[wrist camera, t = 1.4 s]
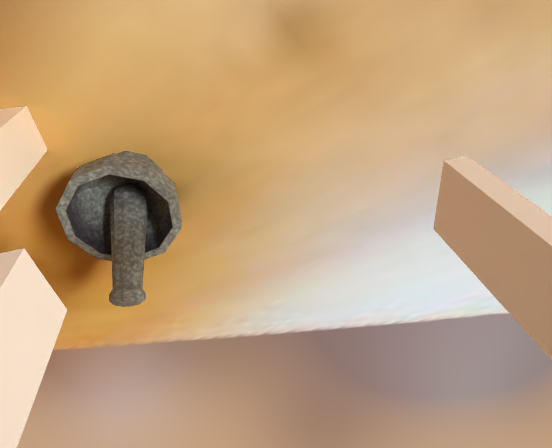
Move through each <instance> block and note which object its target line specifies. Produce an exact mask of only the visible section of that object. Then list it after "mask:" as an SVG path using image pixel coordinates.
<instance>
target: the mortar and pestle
mask: <svg viewBox="0 0 552 448" xmlns="http://www.w3.org/2000/svg"><path fill="white" fill-rule="evenodd" d="M56 211H57V214H58V216H59V219H60V221H61V224H62V226H63V229H64V231H65V234H66V236H67V239H68V240H69V241H71V242H73V243H74V244H76V245H77V246H79V247H80V248H82V249H83V250H85V251H86V252H88V253H89V254H91V255H92V256H94V257H95V258H97V259H100V260H109V261H112V278H113V290H112V291H111V293H110V294H109V301H110V302H111V303H112V304H113V305H116V306H123V307H125V306H134V305H138V304H140V303H141V302H143V301H145V299H146V293H145V292H144V290H143V288H142V286H143V271H144V260H145V259H148V258H150V257H153V256H156V255H159V254H161V253H164V252H165V251H166V250H167V248H168V247H169V245H170V244H171V243H172V241H173V240H174V238H175V237H176V235H177V234H178V232H179V231H180V229H181V222H182V220H181V214H180V208H179V202H178V196H177V190H176V186H175V183H174V182H173V181H172V180H171V179H169V178H168V177H167V176H166V175H165V174H164V173H163V172H162V169H161V168H160V167H159V166H158V165H157V164H156V163H154V162H153V161H152V160H151V159H150V158H149V157H148V156H147V155H143V154H138V153H133V152H128V151H124V152H121V153H118V154H115V153H113V154H111V155H108V156H105V157H103V158H100V159H98V160H95V161H92V162H90V163H87V164H84V165H82V166H81V167H79V168H78V169H77V170H76V171H75V172H74V173H73V175H72V177H71V179H70V180H69V183H68V185H67V187H66V189H65V191H64V193H63V195H62V197H61V199H60V201H59V203H58V205H57V207H56Z"/></svg>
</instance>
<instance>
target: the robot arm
mask: <svg viewBox="0 0 552 448" xmlns="http://www.w3.org/2000/svg"><path fill="white" fill-rule="evenodd" d="M434 230H435V231H436V232H437V233H438V234H439V235H440V237H441V238H442V239H443V240H444V241H445V242H446V243H447V244H448V245H449V247H450V248H451V249H452V250H453V251H454V252H455V253H456V254H457V255H458V257H459V258H460V259H461V260H462V261H463V262H464V263H465V264H466V265H467V267H468V268H469V269H470V270H471V271H472V272H473V273H474V274H475V275H476V277H477V278H478V279H479V280H480V281H481V282H482V283H483V284H484V285H485V287H486V288H487V289H488V290H489V291H490V292H491V293H492V294H493V295H494V297H495V298H496V299H497V300H498V301H499V302H500V303H501V304H502V305H503V307H504V308H505V309H506V310H507V311H508V312H509V313H510V314H511V315H512V317H513V318H514V319H515V320H516V321H517V322H518V323H519V324H520V325H521V326H522V328H523V329H524V330H525V331H526V332H527V333H528V334H529V335H530V337H531V338H533V340H534V341H535V342H536V343H537V344H538V345H539V347H540V348H541V349H542V350H543V351H544V352H545V353H546V354H547V355H548V356H549V357H550V359H551V360H552V216H551V215H549V214H548V213H546V212H545V211H544V210H542V209H541V208H539V207H538V206H536V205H535V204H534V203H532V202H531V201H529V200H528V199H527V198H525V197H524V196H522V195H521V194H520V193H518V192H517V191H515V190H514V189H512V188H511V187H510V186H508V185H507V184H505V183H504V182H503V181H501V180H500V179H498V178H497V177H496V176H494V175H493V174H491V173H490V172H488V171H487V170H486V169H484V168H483V167H481V166H480V165H479V164H477V163H476V162H474V161H473V160H472V159H470V158H469V157H467V156H464V157H459V158H454V159H449V160H444V163H443V170H442V176H441V183H440V190H439V196H438V203H437V209H436V216H435V222H434ZM66 312H67V309H66V308H65V306H64V305H63V303H62V302H61V300H60V299H59V298H58V296H57V295H56V293H55V292H54V290H53V289H52V288H51V286H50V285H49V283H48V282H47V280H46V279H45V278H44V276H43V275H42V273H41V272H40V270H39V269H38V268H37V266H36V265H35V263H34V262H33V260H32V259H31V257H30V256H29V255H28V253H27V252H26V250H25V249H24V248H23V249H18V250H14V251H9V252H4V253H0V448H17V446H18V443H19V440H20V437H21V435H22V432H23V429H24V426H25V424H26V421H27V418H28V415H29V413H30V410H31V407H32V404H33V402H34V399H35V396H36V393H37V391H38V388H39V385H40V383H41V380H42V377H43V375H44V372H45V369H46V366H47V364H48V361H49V358H50V356H51V353H52V350H53V347H54V345H55V342H56V339H57V336H58V334H59V331H60V328H61V325H62V323H63V320H64V317H65V315H66Z"/></svg>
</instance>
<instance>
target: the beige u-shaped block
mask: <svg viewBox="0 0 552 448" xmlns="http://www.w3.org/2000/svg"><path fill="white" fill-rule="evenodd" d="M47 150H48V149H47V147H46V145H45V143H44V141H43V139H42V137H41V135H40V133H39V131H38V129H37V126H36V124H35V122H34V120H33V118H32V116H31V114H30V112H29V110H28V108H27V106H21V107H13V108H6V109H0V210H1V208H2V207H3V206H4V205H5V203H6V202H7V201H8V200H9V198H10V197H11V196H12V194H13V193H14V192H15V191H16V189H17V188H18V187H19V186H20V184H21V183H22V182H23V180H24V179H25V178H26V177H27V175H28V174H29V173H30V172H31V170H32V169H33V168H34V166H35V165H36V164H37V163H38V161H39V160H40V159H41V158H42V156H43V155H44V154H45V152H46V151H47Z"/></svg>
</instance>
